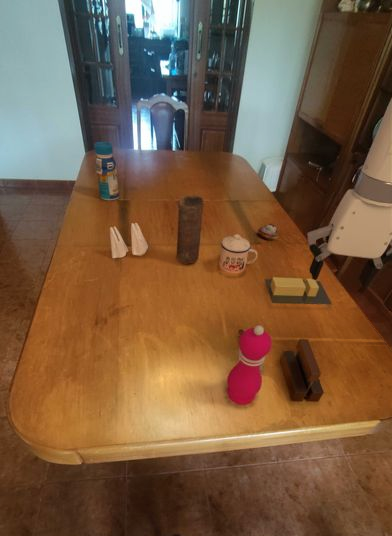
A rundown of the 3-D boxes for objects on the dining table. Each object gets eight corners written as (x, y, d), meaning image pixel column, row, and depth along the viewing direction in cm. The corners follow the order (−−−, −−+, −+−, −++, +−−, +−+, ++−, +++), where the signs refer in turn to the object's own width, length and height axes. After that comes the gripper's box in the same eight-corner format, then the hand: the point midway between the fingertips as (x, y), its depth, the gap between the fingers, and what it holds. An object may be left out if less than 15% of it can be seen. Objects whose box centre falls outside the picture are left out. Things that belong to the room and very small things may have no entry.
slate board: (318, 284, 102) (320, 280, 101) (330, 307, 93) (332, 304, 92) (263, 282, 100) (264, 278, 99) (271, 306, 92) (272, 302, 91)
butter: (298, 287, 98) (302, 278, 95) (302, 296, 94) (306, 287, 92) (270, 286, 97) (272, 277, 95) (273, 295, 94) (275, 286, 91)
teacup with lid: (218, 275, 101) (223, 241, 93) (217, 260, 107) (221, 227, 99) (255, 277, 102) (263, 244, 93) (252, 262, 108) (259, 229, 99)
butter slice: (311, 287, 98) (314, 278, 96) (315, 296, 95) (319, 287, 92) (303, 287, 98) (306, 278, 95) (307, 296, 94) (310, 287, 92)
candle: (202, 263, 105) (208, 202, 91) (183, 268, 102) (186, 206, 88) (190, 252, 110) (194, 192, 95) (172, 257, 107) (173, 196, 92)
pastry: (281, 237, 122) (284, 225, 118) (268, 243, 118) (271, 230, 115) (265, 229, 126) (268, 217, 122) (252, 234, 122) (255, 221, 119)
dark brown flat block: (296, 363, 77) (307, 339, 71) (308, 397, 70) (321, 374, 64) (288, 363, 77) (299, 339, 71) (299, 397, 70) (311, 373, 64)
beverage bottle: (99, 193, 139) (91, 140, 125) (118, 193, 141) (113, 140, 127) (100, 201, 134) (92, 147, 119) (120, 200, 136) (115, 147, 121)
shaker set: (148, 251, 108) (146, 219, 100) (149, 258, 106) (147, 225, 98) (112, 252, 107) (108, 220, 99) (112, 258, 104) (107, 226, 96)
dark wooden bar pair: (303, 360, 78) (308, 351, 75) (318, 401, 70) (324, 392, 67) (279, 360, 77) (283, 350, 75) (291, 401, 69) (296, 392, 67)
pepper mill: (217, 390, 70) (230, 323, 55) (240, 375, 73) (258, 308, 59) (241, 413, 66) (261, 347, 52) (263, 395, 70) (288, 329, 55)
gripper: (425, 185, 53) (376, 274, 65) (322, 173, 53) (292, 263, 65) (445, 203, 48) (387, 295, 60) (330, 190, 48) (296, 284, 60)
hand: (337, 279), depth 63 cm, fingers open, 9 cm apart
